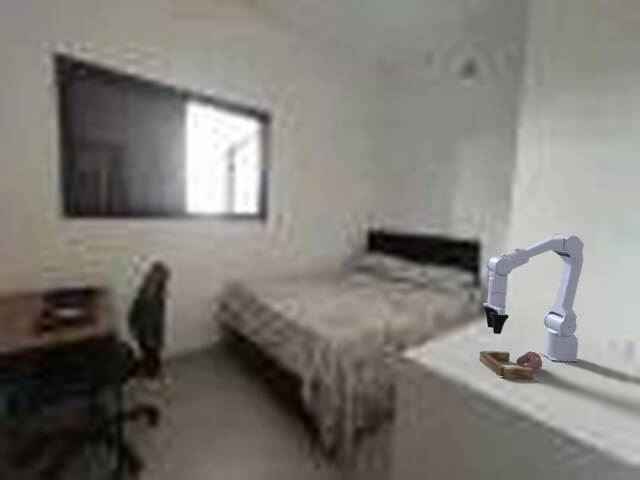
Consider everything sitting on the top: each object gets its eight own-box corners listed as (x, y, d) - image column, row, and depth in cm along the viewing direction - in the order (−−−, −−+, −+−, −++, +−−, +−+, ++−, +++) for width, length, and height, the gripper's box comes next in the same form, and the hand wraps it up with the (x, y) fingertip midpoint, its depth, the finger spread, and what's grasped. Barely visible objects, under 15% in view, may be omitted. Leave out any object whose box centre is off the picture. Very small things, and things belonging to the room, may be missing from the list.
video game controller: (535, 380, 137) (547, 362, 136) (521, 372, 138) (534, 354, 137) (526, 369, 147) (538, 352, 146) (514, 361, 148) (526, 344, 147)
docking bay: (506, 360, 150) (507, 351, 150) (532, 379, 134) (533, 369, 134) (478, 359, 149) (479, 350, 149) (501, 378, 133) (502, 368, 133)
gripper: (480, 287, 157) (477, 323, 159) (490, 295, 143) (487, 335, 144) (500, 288, 157) (497, 325, 158) (513, 296, 142) (509, 337, 143)
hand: (493, 330), depth 151 cm, fingers open, 7 cm apart
